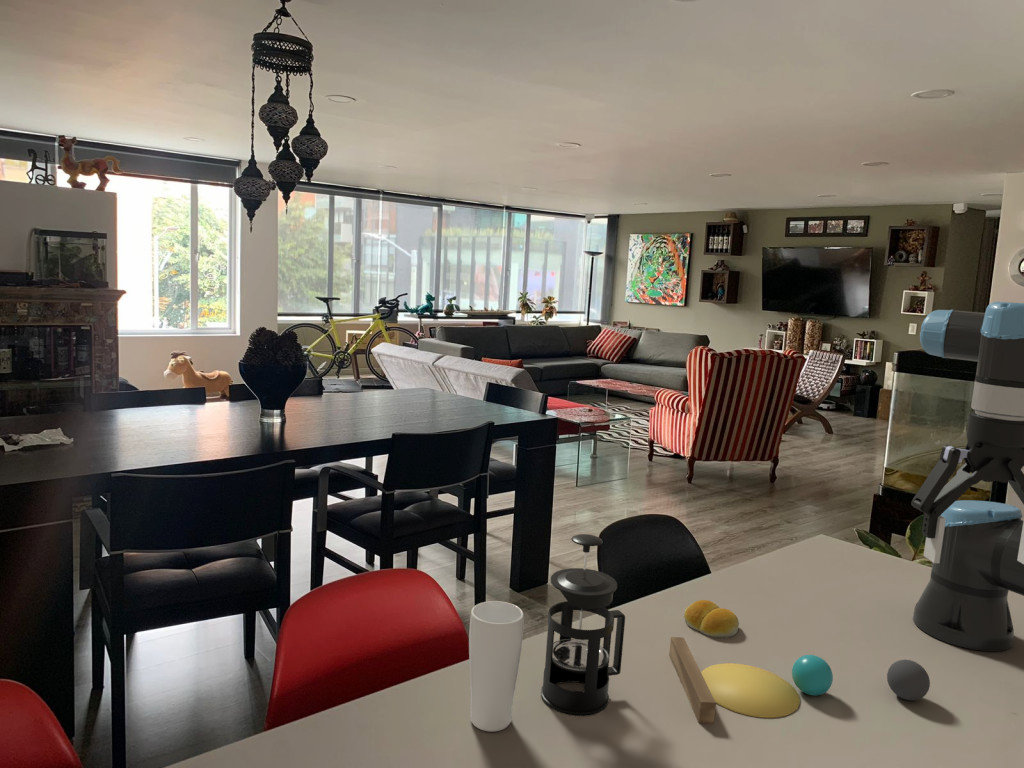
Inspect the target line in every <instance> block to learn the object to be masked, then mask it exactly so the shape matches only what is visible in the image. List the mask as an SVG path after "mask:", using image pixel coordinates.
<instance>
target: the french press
mask: <svg viewBox="0 0 1024 768" xmlns="http://www.w3.org/2000/svg"><path fill="white" fill-rule="evenodd" d="M570 539H571V541H572V542H573V543H574V544H576V545H579V546H582V552H583V553H584V558H583V559H584V561H583V567H582V568H581V567H579V568H578V567H575V568H574V567H572V568H571V567H570V568H564V569H560V570H557V571H555V572H554V573H552V575H551V576H550V583H551V585H552V586H553V587H554V588H555V589H556V590H558V591H559V592H560V593H561V594H562V595H563V597H564V598H565V600H566V601H561V602H557V603H555V604H553V605H552V606H550V607H549V609H548V612H547V634H546V635H547V636H546V647H545V649H546V650H545V663H544V670H543V679H542V680H543V681H542V686H541V689H540V697H541V699H542V701H543V703H544V704H545V705H546V706H547V707H549V708H550V709H551V710H553V711H556V712H558V713H561V714H565V715H568V716H572V717H573V716H574V717H588V716H594V715H596V714H599V713H601V712H603V711H605V709H606V708H607V707H608V705H609V702H610V696H609V682H610V677H612V676H617V675H620V674H621V671H622V659H623V646H624V636H625V624H626V616H625V615H626V614H625V613H623V612H622V611H621V610H620V609H615V610H609V609H608V608H606V607H608V606H610V604H612V602H613V596H614V592H616V590H617V589H618V583H617V580H616V579H615V578H614V577H612V576H611V575H609V574H607V573H604V572H602V571H599V570H595V569H589V568H587V563H588V562H587V561H588V553H590V551H591V547H597V546H600V545H602V544H603V542H604V541H603V539H602V538H601V537H598V536H596V535H594V534H588V533H579V534H575V535H573V536H572V537H571V538H570ZM574 611H579V619H578V621H579V623H578V628H573V618H574V617H573V616H574ZM583 612H587V613H591V614H592V613H593V614H595V615H598V616H601V617H602V618H604V627H601V628H597V629H582V626H583V625H582V624H583ZM557 613H561V614H560V616H561V617H560V623H559V622H557V621H556V620H555V619H553V616H554V615H556V614H557ZM615 619H616V629H615V638H614V639H615V640H614V651H613V662H612V665H611V666H609V665H610V656H611V655H610V654H611V642H612V633H613V631H614V625H615ZM555 633H556V634H558V635H559V640H556V641H554V639H555ZM602 639H603V643H602V645H601V640H602ZM564 682H565V683H567V682H573V683H580V684H584V685H583V691H576V690H570V689H566V688H563V687H561V686H559V685H558V684H562V683H564Z"/></svg>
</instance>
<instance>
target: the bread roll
mask: <svg viewBox="0 0 1024 768" xmlns="http://www.w3.org/2000/svg"><path fill="white" fill-rule="evenodd" d="M683 618H684V620H685V623H686V624H687V625H688V627H690V628H692V629H693V630H696V631H699V632H700V633H701V634H702V635H706V636H708V637H710V638H711V637H712V638H729V637H730V636H731V637H733V636H735V635H736V634H737V633H738V630H739V626H740V623H739V622H740V621H739V619H738V617H737V615H736V613H734V612H733V611H732V610H730V609H727V608H722V607H720V606H719V605H718V604H716V603H715V602H713V601H711V600H707V599H700V600H699V599H698V600H696V601H695V602H693V603H691V604H689V605H688V606H687V607H686V608H685V609H684V611H683ZM731 637H730V638H731Z"/></svg>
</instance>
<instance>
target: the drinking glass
mask: <svg viewBox="0 0 1024 768" xmlns="http://www.w3.org/2000/svg"><path fill="white" fill-rule="evenodd" d="M468 633H469V635H468V655H469V657H468V658H469V659H468V661H469V684H470V685H469V687H470V693H469V694H470V709H469V711H470V712H469V714H470V715H469V717H470V722H471V723H472V725H473V726H474V727H475V728H476V729H478V730H481V731H484V732H493V733H494V732H500V731H503V730H505V729H506V728H508V727H509V726H510V725H511V722H512V718H513V716H512V715H513V705H514V698H515V693H516V685H517V681H518V679H517V678H518V673H519V672H518V671H519V666H520V659H521V653H522V649H523V648H522V647H523V638H524V637H523V635H524V612H523V610H522V609H521V608H520V607H519V606H517V605H516V604H513V603H510V602H506V601H503V600H501V601H500V600H489V601H484V602H483V601H482V602H480V603H477V604H476V605H474V606H472V608H471V611H470V620H469V631H468Z"/></svg>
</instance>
